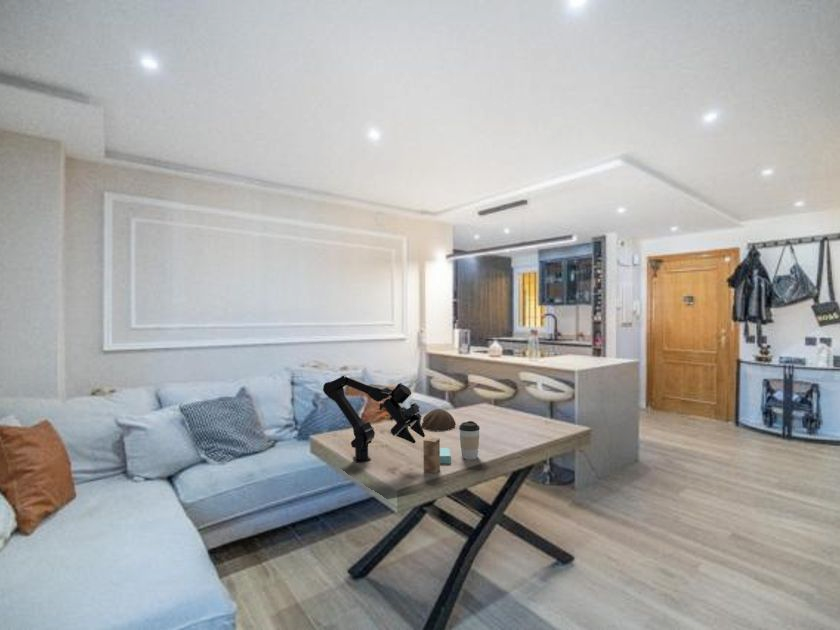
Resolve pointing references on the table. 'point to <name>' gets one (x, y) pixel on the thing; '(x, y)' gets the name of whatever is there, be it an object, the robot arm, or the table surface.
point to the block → (431, 454)
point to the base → (445, 455)
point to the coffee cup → (469, 439)
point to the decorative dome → (438, 420)
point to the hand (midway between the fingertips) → (419, 439)
